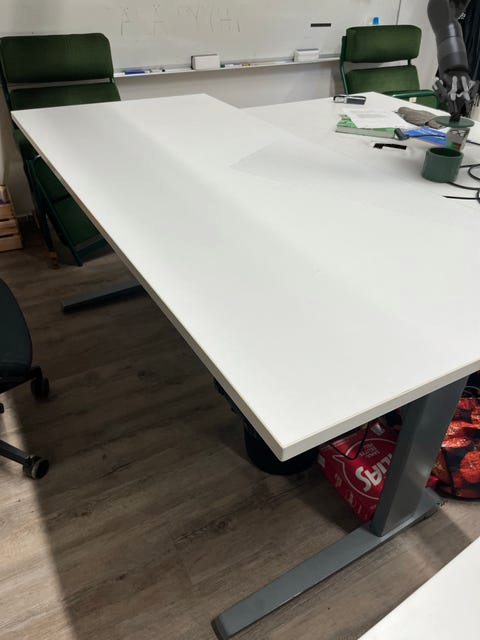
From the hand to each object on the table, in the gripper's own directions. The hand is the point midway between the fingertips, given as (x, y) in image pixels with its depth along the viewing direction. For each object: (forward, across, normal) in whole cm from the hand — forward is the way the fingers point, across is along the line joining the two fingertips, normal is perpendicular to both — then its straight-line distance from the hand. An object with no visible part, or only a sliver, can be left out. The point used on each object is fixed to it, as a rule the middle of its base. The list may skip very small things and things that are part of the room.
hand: (460, 114), depth 134 cm
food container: (+2, +10, +24) cm, 26 cm away
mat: (-10, -4, +36) cm, 37 cm away
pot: (+12, 0, +14) cm, 18 cm away
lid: (0, 0, +3) cm, 3 cm away
